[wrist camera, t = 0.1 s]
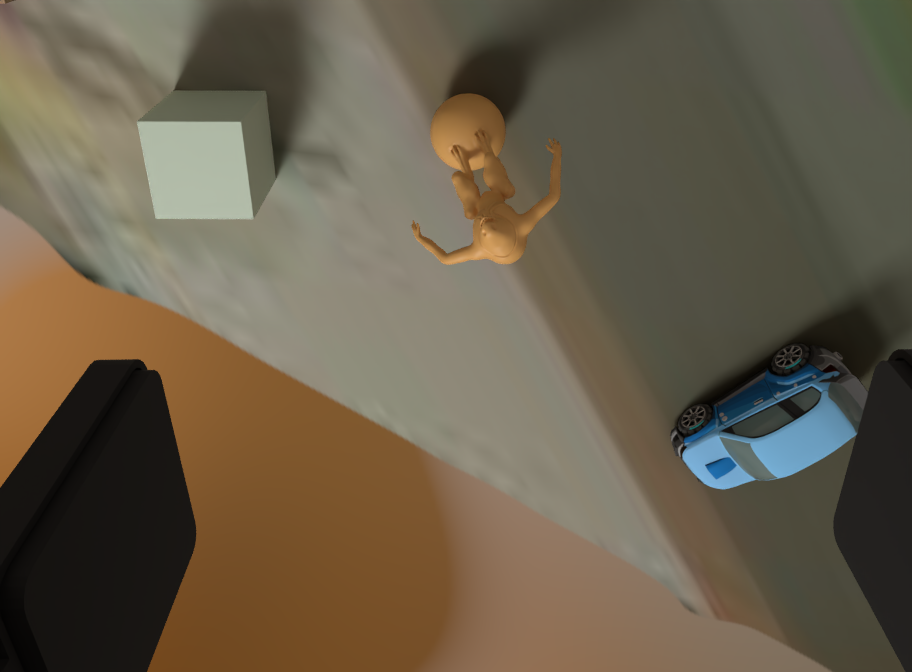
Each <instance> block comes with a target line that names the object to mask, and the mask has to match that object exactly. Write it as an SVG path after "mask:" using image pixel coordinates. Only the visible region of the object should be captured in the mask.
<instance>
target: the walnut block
mask: <svg viewBox="0 0 912 672" xmlns="http://www.w3.org/2000/svg"><path fill="white" fill-rule="evenodd" d="M11 1H14V0H0V4H5V3H8V2H11Z"/></svg>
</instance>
